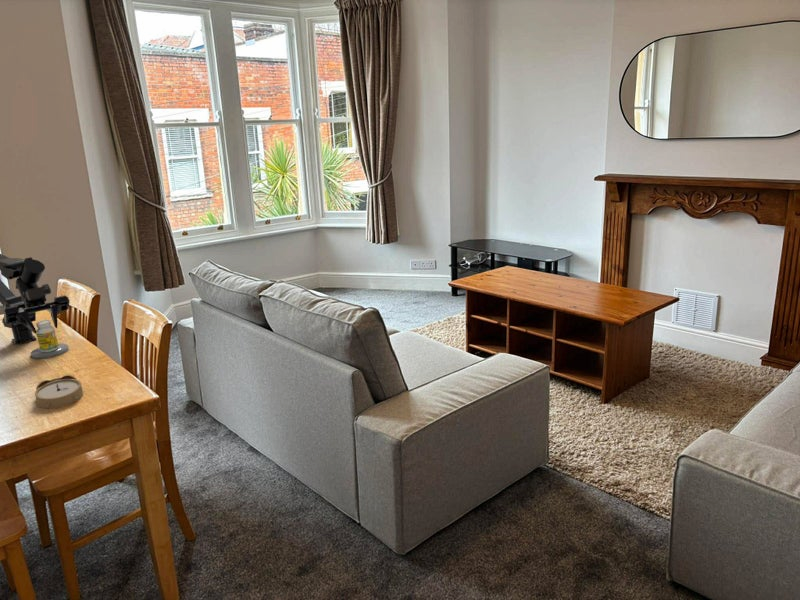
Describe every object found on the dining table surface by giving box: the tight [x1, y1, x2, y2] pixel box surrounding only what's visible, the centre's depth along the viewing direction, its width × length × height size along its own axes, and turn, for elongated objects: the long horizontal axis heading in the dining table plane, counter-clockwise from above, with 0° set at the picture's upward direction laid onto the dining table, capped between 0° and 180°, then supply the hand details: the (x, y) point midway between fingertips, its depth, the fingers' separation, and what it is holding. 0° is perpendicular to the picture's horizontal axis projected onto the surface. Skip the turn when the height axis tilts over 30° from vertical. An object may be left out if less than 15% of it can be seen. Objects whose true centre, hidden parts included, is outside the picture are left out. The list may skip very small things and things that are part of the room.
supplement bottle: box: [35, 319, 59, 352], centre depth 200 cm, size 5×5×10 cm
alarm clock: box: [34, 374, 84, 409], centre depth 167 cm, size 11×5×15 cm
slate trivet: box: [30, 343, 70, 360], centre depth 201 cm, size 11×11×1 cm
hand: (46, 330), depth 198 cm, fingers open, 6 cm apart
